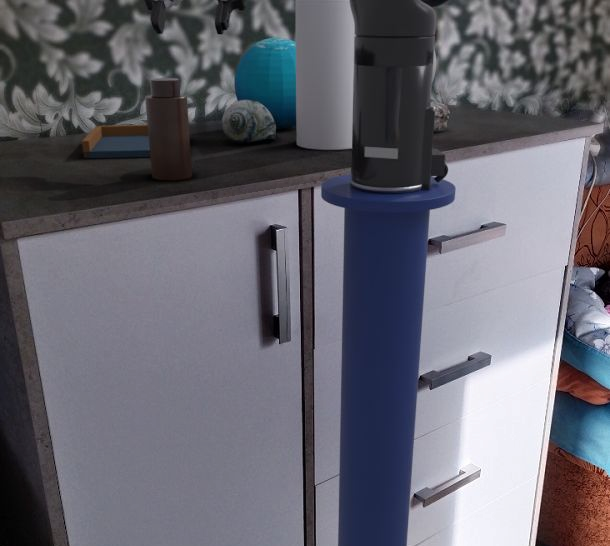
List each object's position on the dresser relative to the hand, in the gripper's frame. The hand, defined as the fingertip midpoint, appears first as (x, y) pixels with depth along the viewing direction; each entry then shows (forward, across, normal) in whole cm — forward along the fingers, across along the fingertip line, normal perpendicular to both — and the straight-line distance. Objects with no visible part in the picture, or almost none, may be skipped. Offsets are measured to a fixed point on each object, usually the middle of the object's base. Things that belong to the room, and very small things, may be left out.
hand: (188, 29), depth 103 cm
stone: (-9, +30, +34) cm, 46 cm away
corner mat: (+6, -11, +18) cm, 22 cm away
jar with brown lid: (+20, 0, +4) cm, 21 cm away
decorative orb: (-9, +6, +34) cm, 36 cm away
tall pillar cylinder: (+1, +18, +24) cm, 29 cm away
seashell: (+1, +4, +24) cm, 24 cm away
